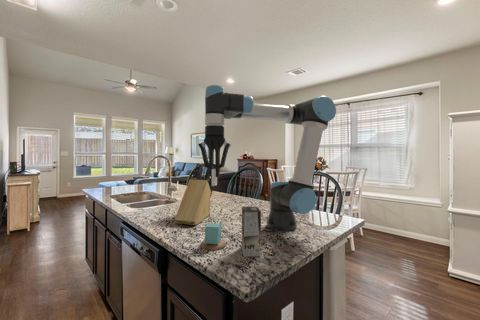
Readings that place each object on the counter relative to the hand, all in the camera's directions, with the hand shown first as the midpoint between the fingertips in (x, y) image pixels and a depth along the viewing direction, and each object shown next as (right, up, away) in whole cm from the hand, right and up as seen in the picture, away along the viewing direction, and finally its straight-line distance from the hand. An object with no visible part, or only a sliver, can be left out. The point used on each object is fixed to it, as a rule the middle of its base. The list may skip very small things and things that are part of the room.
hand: (214, 185), depth 92 cm
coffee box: (+14, -25, -5) cm, 29 cm away
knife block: (-15, -24, +41) cm, 50 cm away
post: (0, -24, 0) cm, 24 cm away
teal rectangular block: (0, -23, 0) cm, 23 cm away
